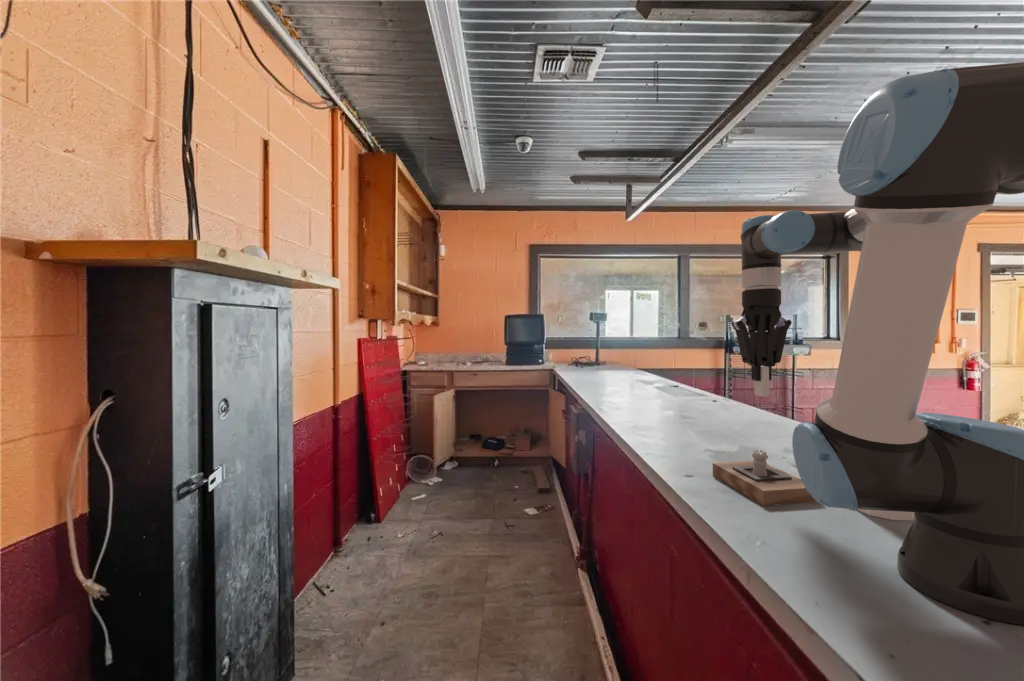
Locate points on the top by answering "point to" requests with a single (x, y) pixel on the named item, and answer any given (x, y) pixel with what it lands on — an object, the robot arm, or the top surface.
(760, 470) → the rook chess piece
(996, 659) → the top surface
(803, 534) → the top surface
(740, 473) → the socket board
